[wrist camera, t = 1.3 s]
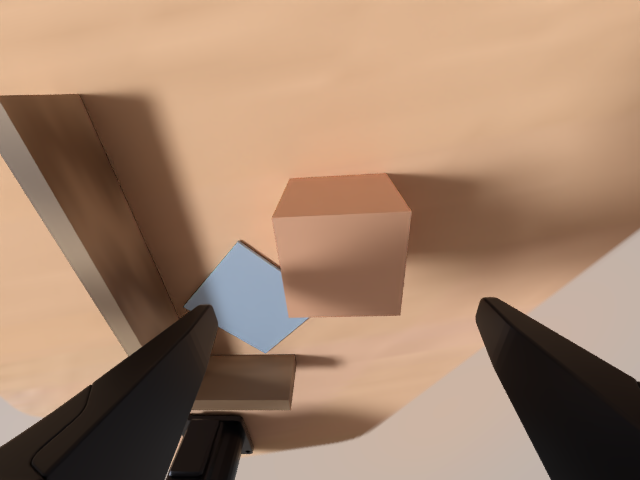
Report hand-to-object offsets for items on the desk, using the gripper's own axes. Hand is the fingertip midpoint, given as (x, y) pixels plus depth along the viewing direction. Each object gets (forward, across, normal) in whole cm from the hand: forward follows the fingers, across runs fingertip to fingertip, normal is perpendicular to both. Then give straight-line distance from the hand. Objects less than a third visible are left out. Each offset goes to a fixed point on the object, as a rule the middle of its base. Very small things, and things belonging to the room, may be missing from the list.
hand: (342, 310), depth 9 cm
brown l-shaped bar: (+7, +9, +2) cm, 12 cm away
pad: (+7, +6, +6) cm, 11 cm away
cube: (+7, 0, 0) cm, 7 cm away
